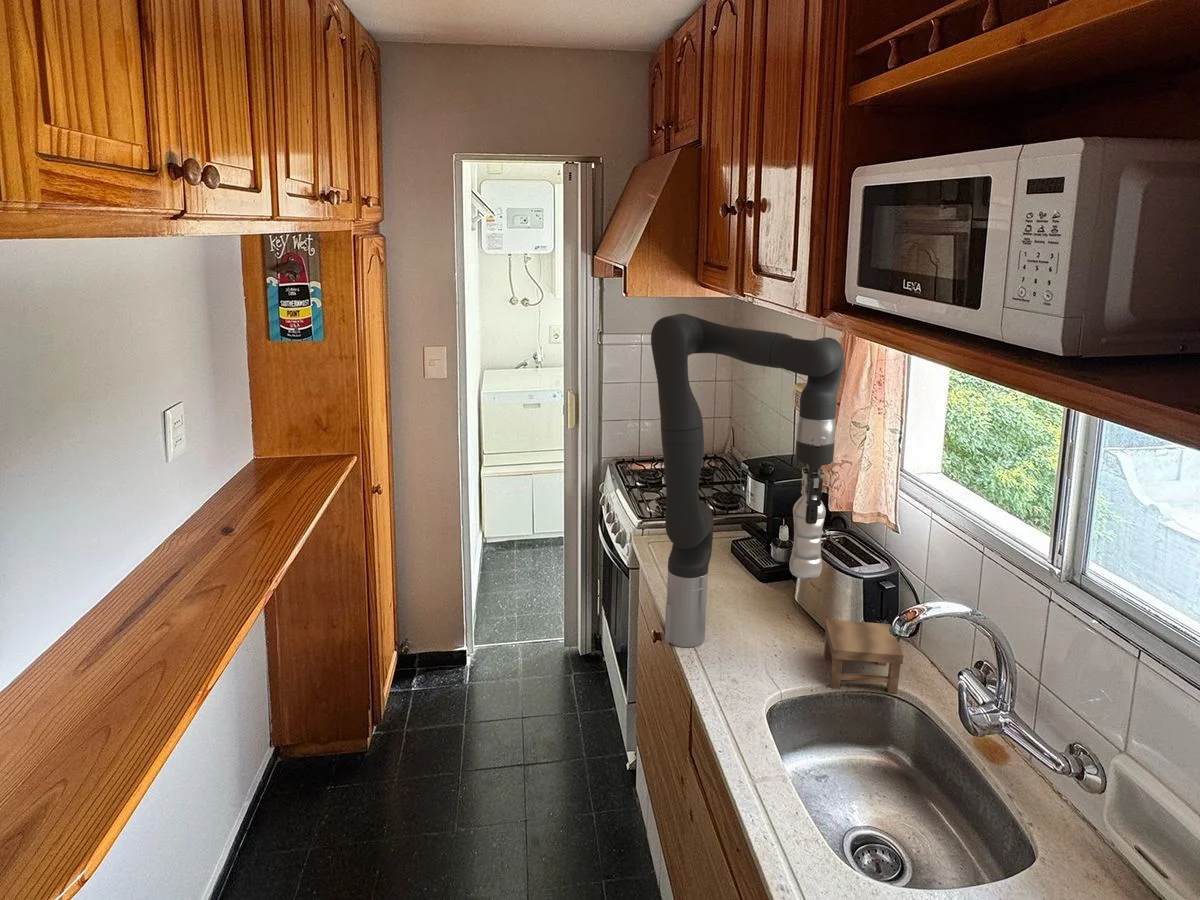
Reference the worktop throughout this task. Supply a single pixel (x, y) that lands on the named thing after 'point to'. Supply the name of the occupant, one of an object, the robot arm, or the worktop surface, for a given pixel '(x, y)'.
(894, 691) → the walnut stool
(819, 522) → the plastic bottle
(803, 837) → the worktop surface
